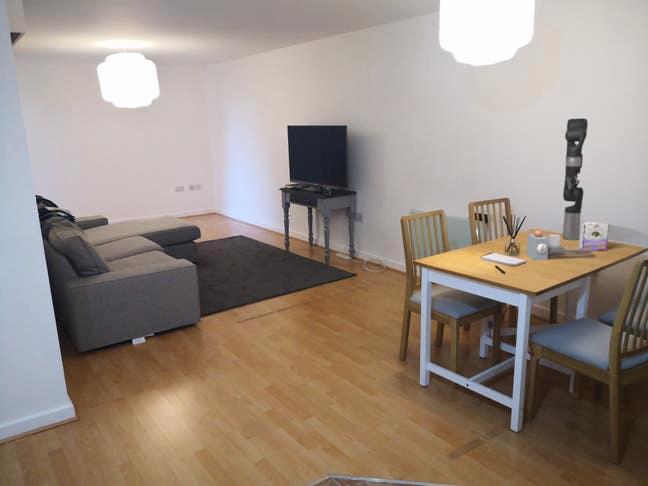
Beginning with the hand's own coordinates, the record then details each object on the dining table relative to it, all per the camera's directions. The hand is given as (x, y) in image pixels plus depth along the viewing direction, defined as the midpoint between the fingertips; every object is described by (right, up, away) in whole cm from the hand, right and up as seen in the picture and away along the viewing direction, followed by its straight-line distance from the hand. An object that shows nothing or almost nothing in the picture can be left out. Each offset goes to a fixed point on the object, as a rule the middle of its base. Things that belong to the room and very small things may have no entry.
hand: (570, 195), depth 285 cm
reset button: (-20, -23, -4) cm, 31 cm away
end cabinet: (-20, -35, -1) cm, 40 cm away
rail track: (-3, -35, -2) cm, 35 cm away
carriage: (-11, -31, -2) cm, 33 cm away
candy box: (+17, -31, +9) cm, 37 cm away
